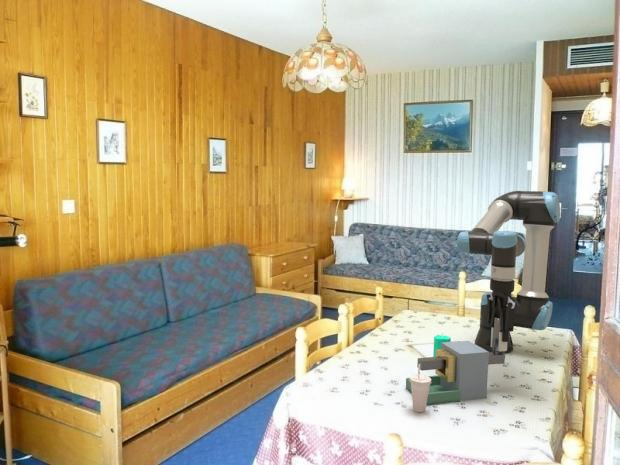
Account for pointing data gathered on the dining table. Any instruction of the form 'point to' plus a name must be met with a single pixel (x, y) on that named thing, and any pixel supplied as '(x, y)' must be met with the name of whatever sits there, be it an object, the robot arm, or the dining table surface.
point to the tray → (437, 392)
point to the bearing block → (468, 369)
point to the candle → (439, 342)
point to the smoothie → (420, 391)
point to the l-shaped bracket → (494, 356)
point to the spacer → (450, 365)
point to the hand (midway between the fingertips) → (498, 348)
